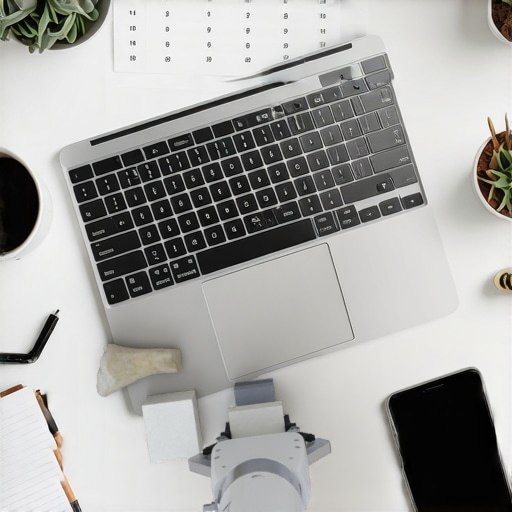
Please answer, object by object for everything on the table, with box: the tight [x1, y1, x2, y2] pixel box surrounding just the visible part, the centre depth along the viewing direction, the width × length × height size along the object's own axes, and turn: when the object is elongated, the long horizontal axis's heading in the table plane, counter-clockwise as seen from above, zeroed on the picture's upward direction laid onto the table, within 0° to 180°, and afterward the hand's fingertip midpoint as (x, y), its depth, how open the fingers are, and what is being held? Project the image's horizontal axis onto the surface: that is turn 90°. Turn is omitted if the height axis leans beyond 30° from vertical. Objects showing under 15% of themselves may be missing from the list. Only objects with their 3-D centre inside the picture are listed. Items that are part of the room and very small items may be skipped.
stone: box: [96, 343, 184, 398], centre depth 71 cm, size 11×6×5 cm, turn 108°
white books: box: [141, 389, 204, 464], centre depth 72 cm, size 8×6×4 cm
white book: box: [227, 400, 285, 439], centre depth 66 cm, size 8×6×2 cm
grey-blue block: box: [233, 378, 277, 407], centre depth 72 cm, size 8×5×3 cm, turn 8°
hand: (259, 430), depth 69 cm, fingers closed on white book, 6 cm apart
